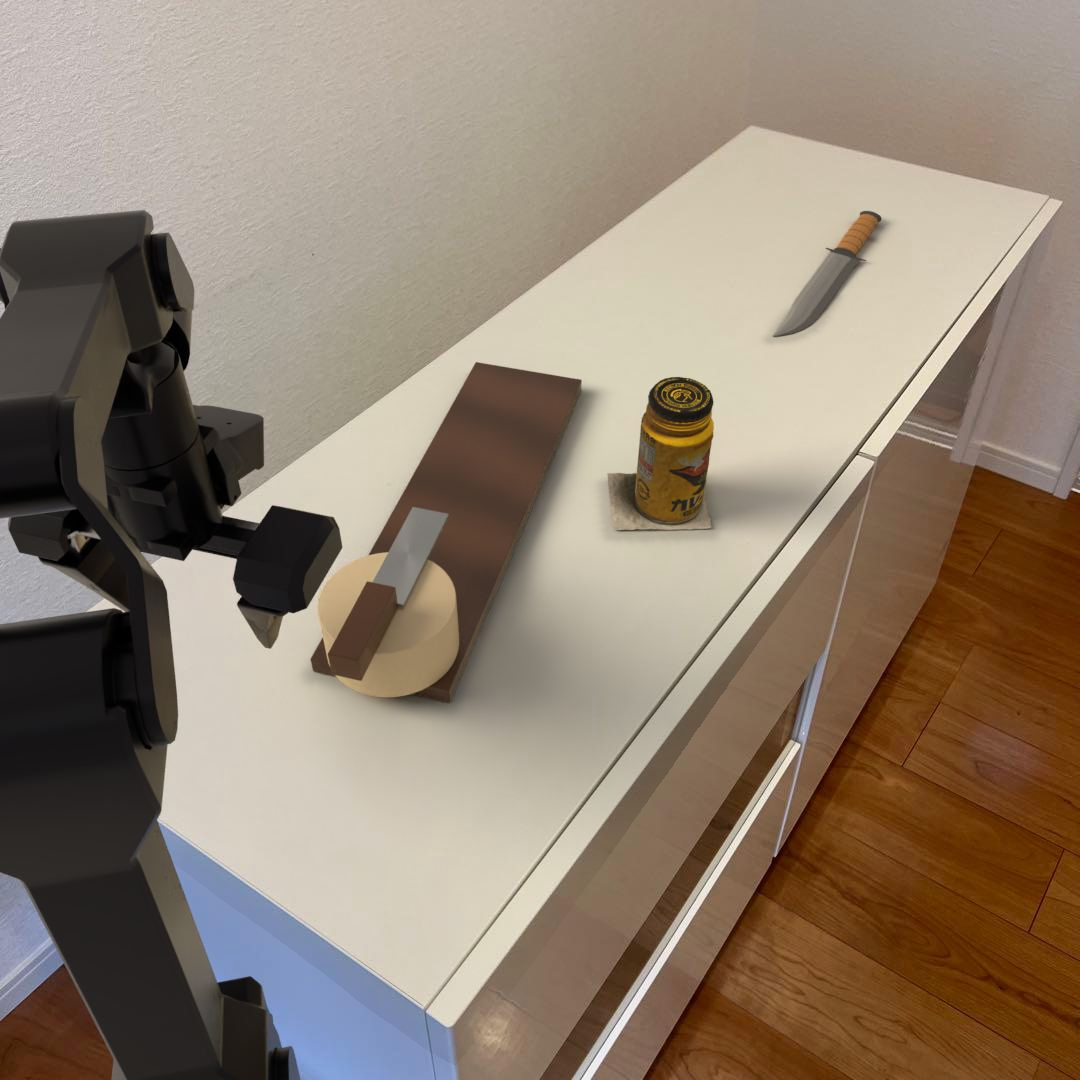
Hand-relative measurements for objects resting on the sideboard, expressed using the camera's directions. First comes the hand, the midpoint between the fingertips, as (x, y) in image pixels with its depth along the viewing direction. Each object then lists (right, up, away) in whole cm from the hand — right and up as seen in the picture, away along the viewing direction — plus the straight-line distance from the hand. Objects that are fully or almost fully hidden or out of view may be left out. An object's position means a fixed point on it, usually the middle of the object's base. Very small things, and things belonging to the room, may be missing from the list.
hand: (205, 627), depth 69 cm
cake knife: (+10, +1, +9) cm, 14 cm away
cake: (+10, -2, +13) cm, 17 cm away
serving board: (+15, +8, +26) cm, 31 cm away
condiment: (+32, +9, +27) cm, 43 cm away
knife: (+55, +36, +54) cm, 85 cm away
